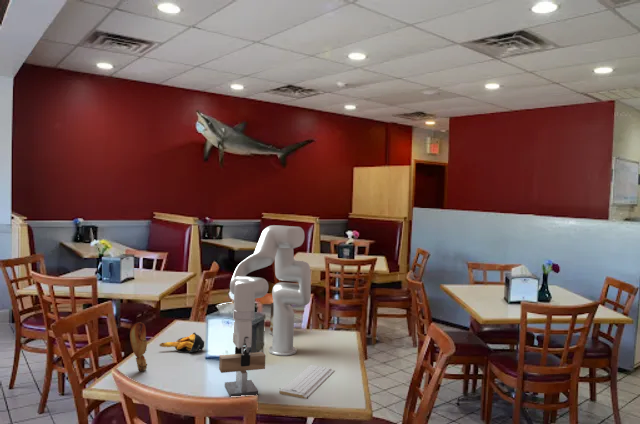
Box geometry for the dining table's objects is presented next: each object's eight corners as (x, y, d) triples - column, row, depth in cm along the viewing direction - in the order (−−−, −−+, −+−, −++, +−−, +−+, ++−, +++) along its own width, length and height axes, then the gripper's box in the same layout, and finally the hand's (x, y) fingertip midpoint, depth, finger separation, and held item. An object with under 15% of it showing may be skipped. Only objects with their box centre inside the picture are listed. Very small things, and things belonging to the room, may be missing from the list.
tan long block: (219, 369, 183) (219, 355, 183) (262, 365, 189) (262, 351, 189) (221, 372, 179) (221, 358, 179) (264, 368, 185) (265, 355, 185)
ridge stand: (224, 386, 188) (225, 365, 187) (251, 383, 191) (251, 362, 191) (230, 398, 178) (231, 375, 177) (258, 395, 181) (259, 373, 181)
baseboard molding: (337, 373, 208) (310, 368, 213) (337, 366, 208) (310, 361, 213) (309, 400, 179) (279, 395, 184) (310, 392, 179) (279, 387, 183)
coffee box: (268, 334, 258) (270, 303, 257) (275, 331, 264) (276, 301, 263) (284, 337, 254) (286, 305, 254) (290, 334, 260) (291, 303, 260)
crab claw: (127, 372, 197) (129, 322, 197) (134, 368, 202) (136, 318, 202) (144, 374, 196) (145, 323, 196) (150, 370, 201) (152, 320, 201)
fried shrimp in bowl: (207, 344, 223) (167, 334, 216) (197, 363, 226) (158, 354, 219) (206, 331, 231) (168, 321, 224) (197, 349, 234) (159, 340, 227)
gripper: (228, 309, 190) (227, 354, 191) (238, 321, 174) (237, 370, 175) (248, 308, 193) (246, 353, 193) (260, 320, 177) (258, 368, 177)
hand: (242, 361), depth 184 cm, fingers open, 9 cm apart
